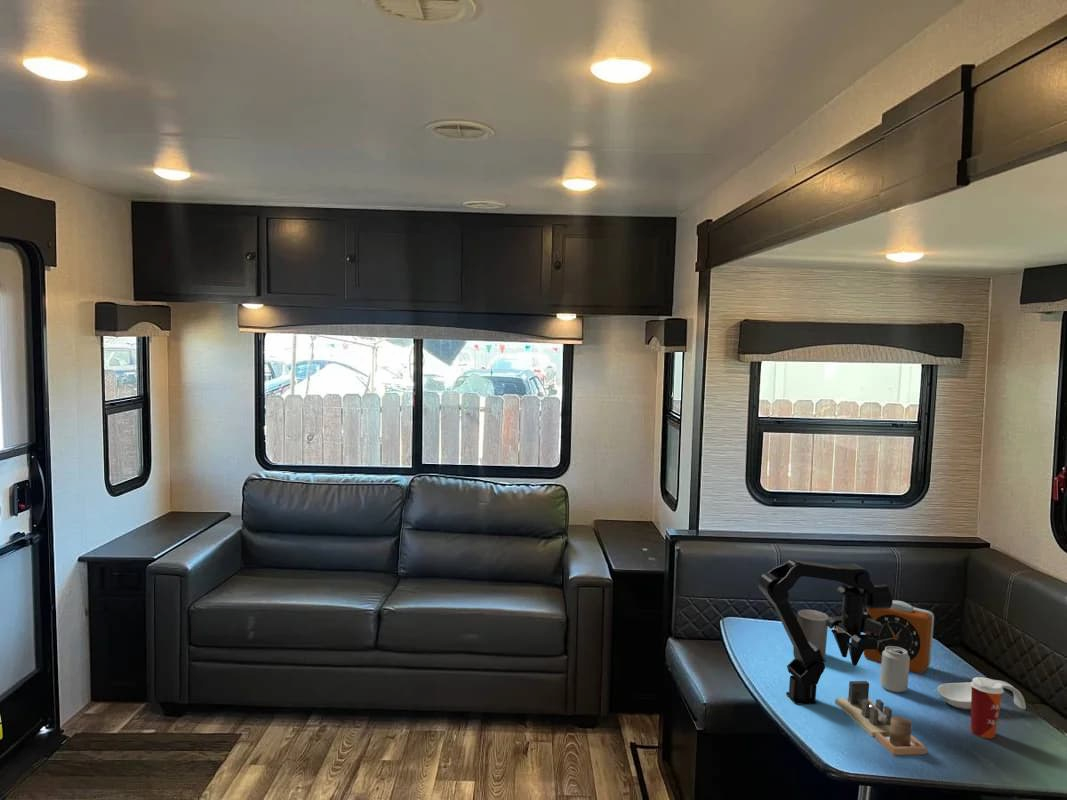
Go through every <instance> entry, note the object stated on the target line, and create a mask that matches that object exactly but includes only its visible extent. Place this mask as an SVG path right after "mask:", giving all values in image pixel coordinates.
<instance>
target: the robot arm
mask: <svg viewBox="0 0 1067 800" xmlns="http://www.w3.org/2000/svg"><path fill="white" fill-rule="evenodd" d="M801 577H804V578H805V577H806V578H812V579H813V578H814V579H820V580H828V581H835V582H839V583H841V584H842V585H841V586H839V587H838V588H836V592H838V593H839V594H841V595H843V598H842V608H841V609H840V608H839V611H838V613H839V614H841V616H834V615H833V616H828V617H829V618H828V619H827V623H826V626H828V628H829V629H830V630H831V633H832V635H833V637H834V639H835V641H836V644H837V647H838V648H839V651H840V654H841V657H842V658H847V657H848V652H849V657H850V661H851V663H852V666H855V667H857V665H858V664H859V661H860V659H861V657H862V655H863V654H864V650H867V649H878V643H879V642H878V641H877V640H876V639H875V638H874V637H872V636H871V635H869V634H868V635H865V633H867V632H868V631H869V632H872V633H875V634H876V635H878V636H879V635H880V632H881V630H882V628H883V625H882V624H880V623H879V622H877V621H875V620H873V619H872V616H871V615H870V614H868V613H867V611H866V612H865V607H866V609H867V608H869V609H889V608H891V606H892V602H893V600H894V599H893V597H892V594H891V592H890V591H889V590H890V587H889V586H888V585H887V584H883V583H881V584H874V583H873V582H872V580H871V576H870V573H869V571H868V570H866V569H864V568H863V567H861V566H859V565H858V564H856V563H852V562H846V563H839V564H825V563H819V562H812V561H804V560H798V559H795V558H791V559H788V560H787V561H786V562H785V563H783V564H781V565H778V566H776V567H774V568H772V569H771V570H769V571H767V572H766V573H763V574H762V575H760V577H759V579H758V581H757V586H758V588H759V590H760V591H761V592H762V594H763V596H764V597H766V598H767V600H768V601H769V602H770V604H771V605H772V606H773V607H774V610H775V612H776V614H777V616H778V617H779V620H780V622H781V624H782V626H783V628H784V630H785V632H786V634H787V636H788V638H789V641H790V642H791V644H792V647H793V649H792V650H793V652H792V653H793V656H794V658H793V659H792V660H791V661H790V662H789V663H788V664H787V665H786V668H787V671H788V673H789V674H790V676H789V688H788V691H786V692H785V695H786V696H787V697H788V698H789V699H790V700H791V701H792V702H793V703H794V704H796V705H810V704H811V705H812V704H814V705H815V704H817V703H818V701H817V700H816V698H817V685H818V684H819V682H820V679H821V676H822V674H823V673H824V671H825V670H826V665H825V663H826V660H825V658H824V659H823V657H822V655H821V651H820V649H819V648H817V647H816V646H815V645H814V644H812V643H811V642H810V641H809V642H808V641H807V639H806V637H805V635H804V633H803V630H802V628H801V626H800V624H799V622H798V620H797V616H796V615H795V613H794V610H793V608H792V606H791V604H790V593H789V590H791V589H792V588H793V587H794V586H795V584H796V583H797V582H798V580H799V579H801ZM862 633H863V634H862Z"/></svg>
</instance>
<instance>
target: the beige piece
mask: <svg viewBox="0 0 1067 800" xmlns="http://www.w3.org/2000/svg"><path fill="white" fill-rule="evenodd" d="M834 700H835V701H834V703H835V704H836V705H837V707H839V708H840V709H841V710H842V711H843V712H844V713H845V714H847V715H848V716H849V718H851V719H852V720H853V721H854V722H855V723H856V724H858V726H859V727H860V728H861V729H863V730H864V731H865V732H866V733H867V734H868V735H869V736H870V737H871V738H873V737H875V736H876V733H880V734H881V735H883V736H884V737H890V727H891V718H892V717H893V716H892V715H893V709H892V708H890V707H889V706H888V705H887V706H885V705H884V704H885V703H884V701H882V700H881V699H878V698H877V699H876V700H875V702H874V701H873V700H871V699H870V698H869V697H868V700H869V701H870V702H871V703H872V704H873V705H875V706H876V707H877V708H878V709H879V710H880V711H882V712H883V713H884V714H885V715H886V716H887V717H888V721H887V722H886V723H884V724H882V723H881V722H879V721H878V720H877V717H878V710H877V709H876V708H875V707H870V703H869V702H868V701H867V700H862V706H861V705H860V704H851V703H850V702H849V701H848V697H847V698H846V697H845V698H835V699H834ZM869 708H870V713H869Z"/></svg>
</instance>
